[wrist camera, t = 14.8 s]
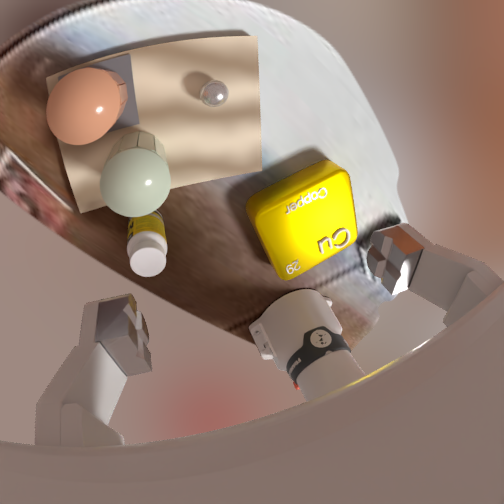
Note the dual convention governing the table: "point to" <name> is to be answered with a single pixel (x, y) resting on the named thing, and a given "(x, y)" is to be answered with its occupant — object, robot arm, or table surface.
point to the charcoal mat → (125, 72)
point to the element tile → (304, 218)
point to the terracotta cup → (85, 105)
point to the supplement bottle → (147, 244)
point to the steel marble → (214, 93)
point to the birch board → (181, 114)
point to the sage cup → (135, 175)
